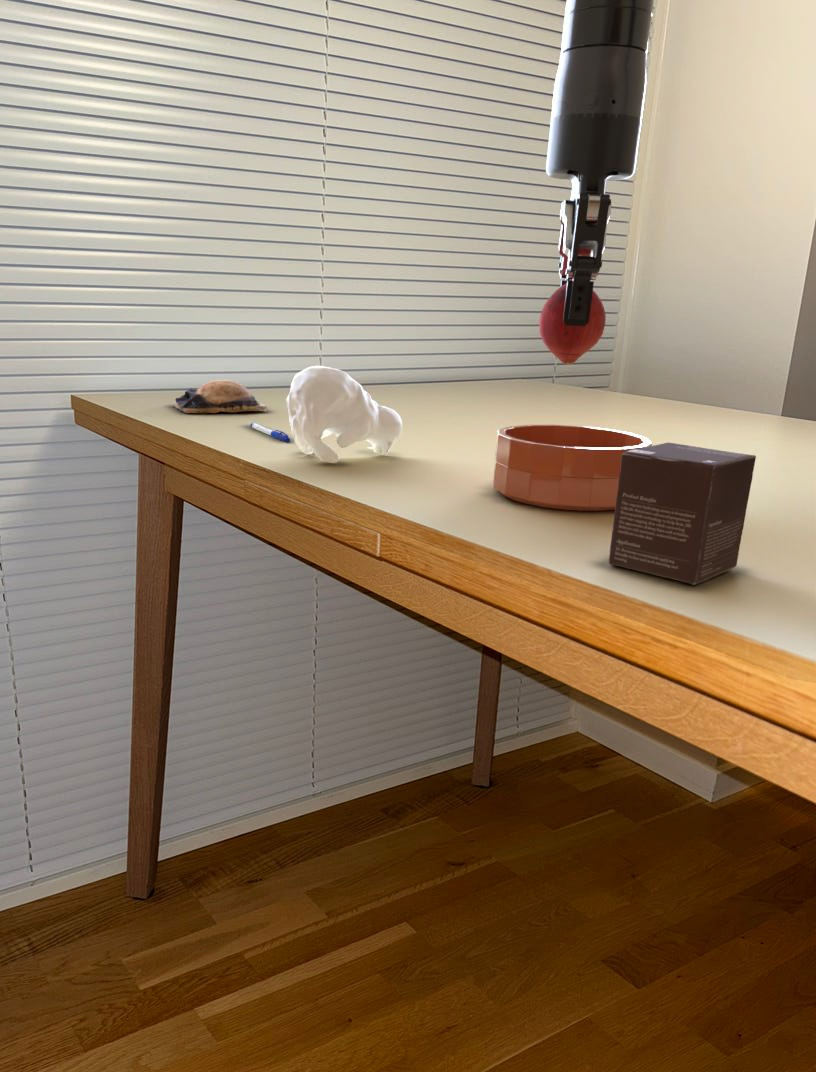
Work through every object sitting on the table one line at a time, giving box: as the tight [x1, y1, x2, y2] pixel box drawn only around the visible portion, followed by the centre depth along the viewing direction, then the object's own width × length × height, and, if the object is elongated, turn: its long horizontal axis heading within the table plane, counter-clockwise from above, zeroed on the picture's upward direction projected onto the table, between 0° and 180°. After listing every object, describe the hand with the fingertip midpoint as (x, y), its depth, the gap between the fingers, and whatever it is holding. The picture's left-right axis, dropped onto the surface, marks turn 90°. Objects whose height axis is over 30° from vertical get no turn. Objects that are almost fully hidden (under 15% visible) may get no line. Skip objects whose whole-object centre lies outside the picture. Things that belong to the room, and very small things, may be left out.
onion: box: [538, 279, 607, 365], centre depth 88 cm, size 6×6×8 cm
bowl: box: [492, 424, 653, 512], centre depth 80 cm, size 12×12×5 cm
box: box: [608, 442, 757, 586], centre depth 60 cm, size 6×6×7 cm
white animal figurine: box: [285, 365, 404, 464], centre depth 93 cm, size 6×8×12 cm
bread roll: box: [173, 379, 268, 415], centre depth 122 cm, size 11×8×4 cm
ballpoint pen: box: [250, 422, 291, 443], centre depth 105 cm, size 10×1×1 cm, turn 27°
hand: (572, 323), depth 88 cm, fingers closed on onion, 6 cm apart
